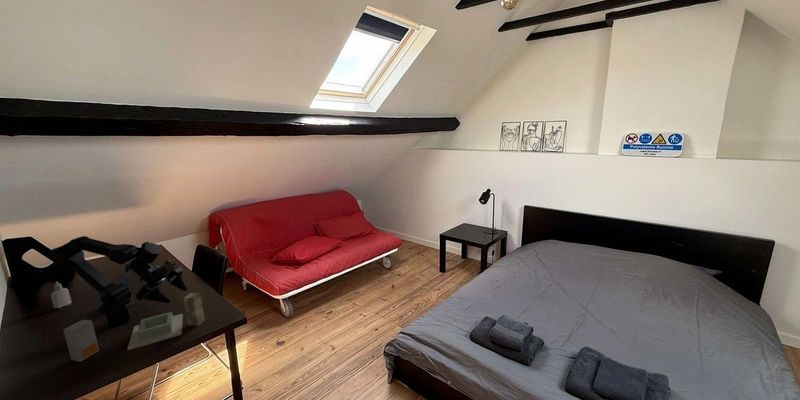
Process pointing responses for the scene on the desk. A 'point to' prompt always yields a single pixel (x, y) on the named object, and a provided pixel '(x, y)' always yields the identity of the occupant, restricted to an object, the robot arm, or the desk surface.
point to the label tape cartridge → (127, 284)
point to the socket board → (156, 330)
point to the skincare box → (81, 340)
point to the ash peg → (194, 309)
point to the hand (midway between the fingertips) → (178, 296)
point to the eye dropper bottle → (60, 296)
